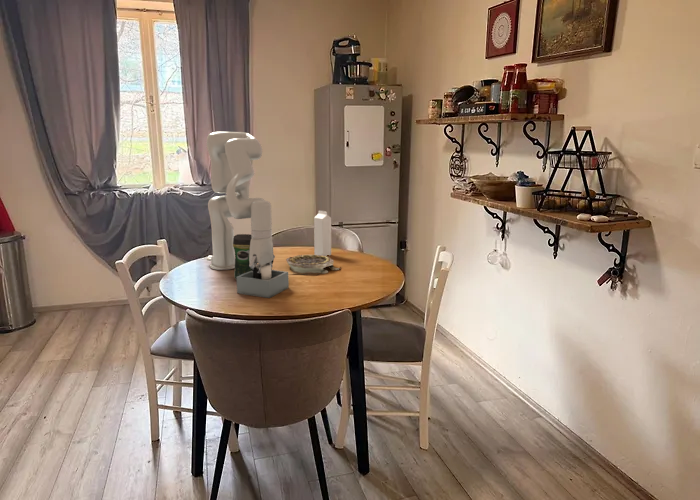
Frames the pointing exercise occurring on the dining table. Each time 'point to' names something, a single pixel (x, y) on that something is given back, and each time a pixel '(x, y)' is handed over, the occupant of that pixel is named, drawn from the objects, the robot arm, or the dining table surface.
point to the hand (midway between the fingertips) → (263, 280)
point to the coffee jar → (241, 253)
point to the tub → (262, 284)
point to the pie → (310, 264)
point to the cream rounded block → (265, 272)
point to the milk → (322, 234)
